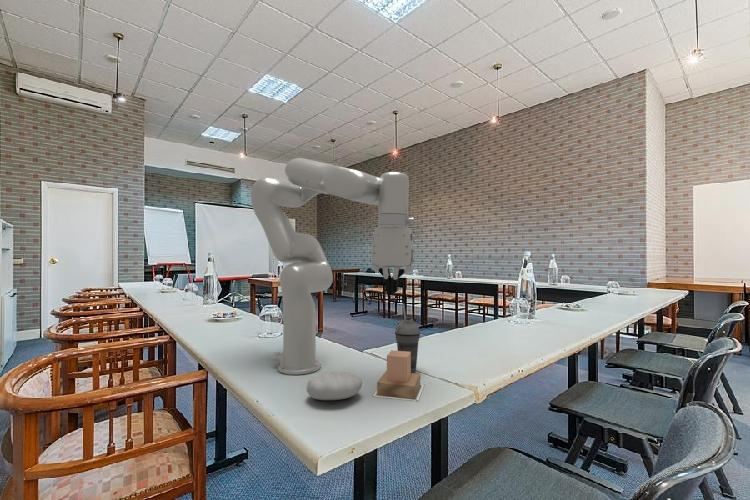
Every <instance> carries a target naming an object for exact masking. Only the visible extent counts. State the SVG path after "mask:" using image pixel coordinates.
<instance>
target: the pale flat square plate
mask: <svg viewBox="0 0 750 500" xmlns="http://www.w3.org/2000/svg"><path fill="white" fill-rule="evenodd" d="M424 388H425V384H422V383H420V387H419V390H418V392H417V395H416V397H415V399H408V398H398V397H389V396H380V395H377V389H376V390H375V392H374V393H373V394H372V395H371V397H373V398H382V399H392V400H399V401H410V402H418V403H419V401H420V398H421V396H422V393H423V390H424Z"/></svg>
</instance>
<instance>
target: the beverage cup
mask: <svg viewBox="0 0 750 500" xmlns="http://www.w3.org/2000/svg"><path fill="white" fill-rule="evenodd" d="M402 309H403V310H402V312H403V319H401V320H400V321H399V322H398V323H397V324H396V327H395V330H394V334H395V341H396V345H397V346H396V347H397V351H407V352H411V373H416V370H417V362H418V350H419V341H420V335H421V331H420V327H419V325H418V323H417V322H416V321H415V320H413V319H411V318H407V316H406V314H407V313H406V307H405V303H402Z"/></svg>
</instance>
